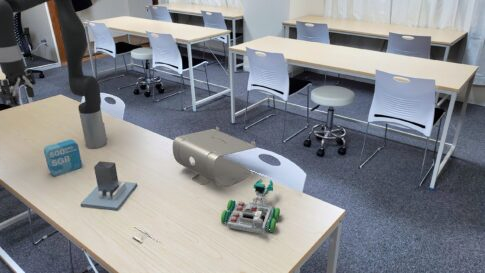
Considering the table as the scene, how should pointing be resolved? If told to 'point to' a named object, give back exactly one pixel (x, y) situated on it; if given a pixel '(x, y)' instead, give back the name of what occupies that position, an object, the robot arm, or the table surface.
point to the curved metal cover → (211, 156)
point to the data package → (63, 157)
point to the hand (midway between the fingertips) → (23, 101)
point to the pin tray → (109, 197)
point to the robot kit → (252, 212)
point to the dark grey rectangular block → (106, 177)
